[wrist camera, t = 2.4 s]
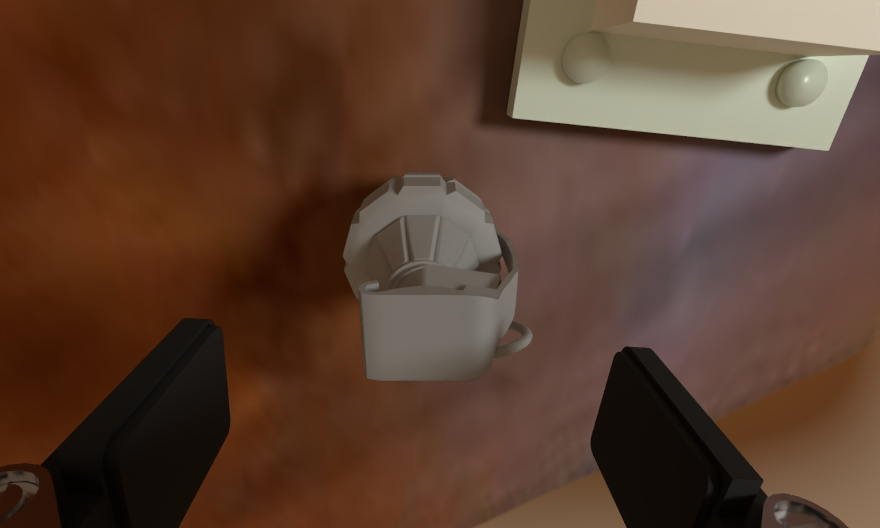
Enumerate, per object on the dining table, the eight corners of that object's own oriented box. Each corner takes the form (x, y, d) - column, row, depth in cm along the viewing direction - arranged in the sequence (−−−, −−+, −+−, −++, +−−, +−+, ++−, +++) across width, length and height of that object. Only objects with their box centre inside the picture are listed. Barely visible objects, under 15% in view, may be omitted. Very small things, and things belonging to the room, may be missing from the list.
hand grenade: (365, 271, 23) (318, 429, 13) (357, 154, 21) (294, 236, 11) (492, 270, 23) (544, 425, 13) (499, 154, 21) (567, 235, 11)
